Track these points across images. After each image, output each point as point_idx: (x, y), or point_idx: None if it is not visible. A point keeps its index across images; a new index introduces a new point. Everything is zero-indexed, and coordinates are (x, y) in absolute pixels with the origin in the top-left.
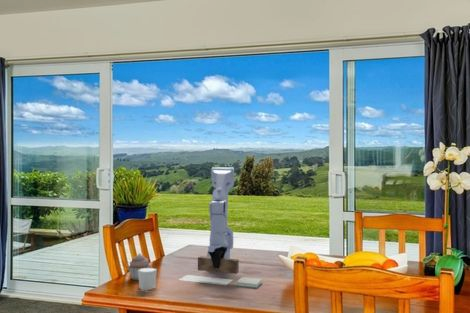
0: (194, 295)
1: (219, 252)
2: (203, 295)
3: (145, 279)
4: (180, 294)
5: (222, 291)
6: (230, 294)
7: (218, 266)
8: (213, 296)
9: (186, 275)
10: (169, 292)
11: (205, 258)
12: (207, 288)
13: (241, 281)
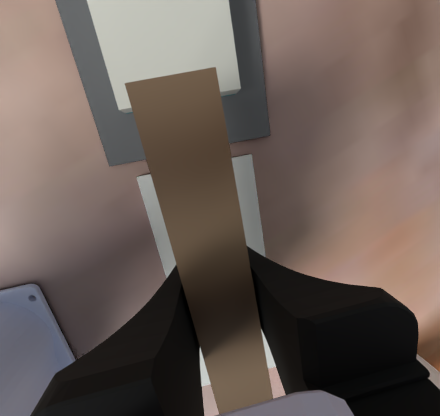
0: (425, 196)
1: (403, 310)
2: (415, 164)
3: None
4: (427, 248)
5: (334, 120)
6: (365, 52)
7: (252, 251)
8: (417, 115)
9: (206, 383)
10: (416, 293)
11: (271, 394)
12: (319, 209)
13: (216, 57)
